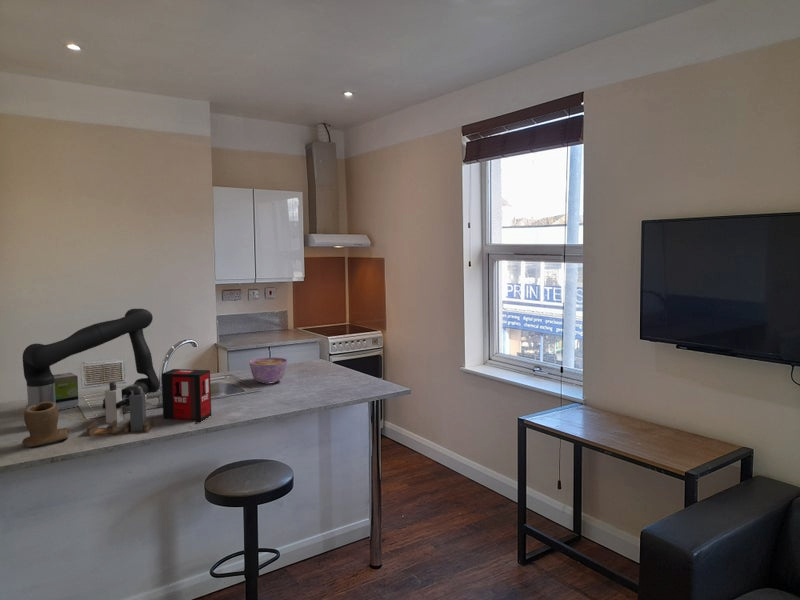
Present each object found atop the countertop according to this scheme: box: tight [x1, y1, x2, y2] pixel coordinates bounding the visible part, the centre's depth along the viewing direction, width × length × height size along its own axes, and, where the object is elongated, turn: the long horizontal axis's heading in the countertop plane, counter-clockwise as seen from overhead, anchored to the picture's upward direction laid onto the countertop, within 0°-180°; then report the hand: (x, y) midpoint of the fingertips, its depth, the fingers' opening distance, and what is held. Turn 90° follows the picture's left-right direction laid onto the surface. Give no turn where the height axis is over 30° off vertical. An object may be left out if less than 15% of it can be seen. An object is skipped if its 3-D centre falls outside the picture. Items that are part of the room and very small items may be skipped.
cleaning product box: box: [161, 368, 212, 422], centre depth 225 cm, size 16×9×20 cm, turn 82°
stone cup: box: [21, 402, 70, 448], centre depth 197 cm, size 15×12×15 cm
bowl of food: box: [248, 356, 288, 383], centre depth 288 cm, size 20×20×12 cm
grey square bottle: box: [129, 386, 147, 432], centre depth 208 cm, size 4×4×17 cm
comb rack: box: [84, 417, 155, 438], centre depth 207 cm, size 22×10×4 cm, turn 102°
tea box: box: [53, 372, 79, 411], centre depth 239 cm, size 15×10×15 cm, turn 137°
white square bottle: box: [104, 381, 124, 424], centre depth 218 cm, size 4×4×17 cm
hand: (110, 406), depth 216 cm, fingers closed on white square bottle, 4 cm apart
